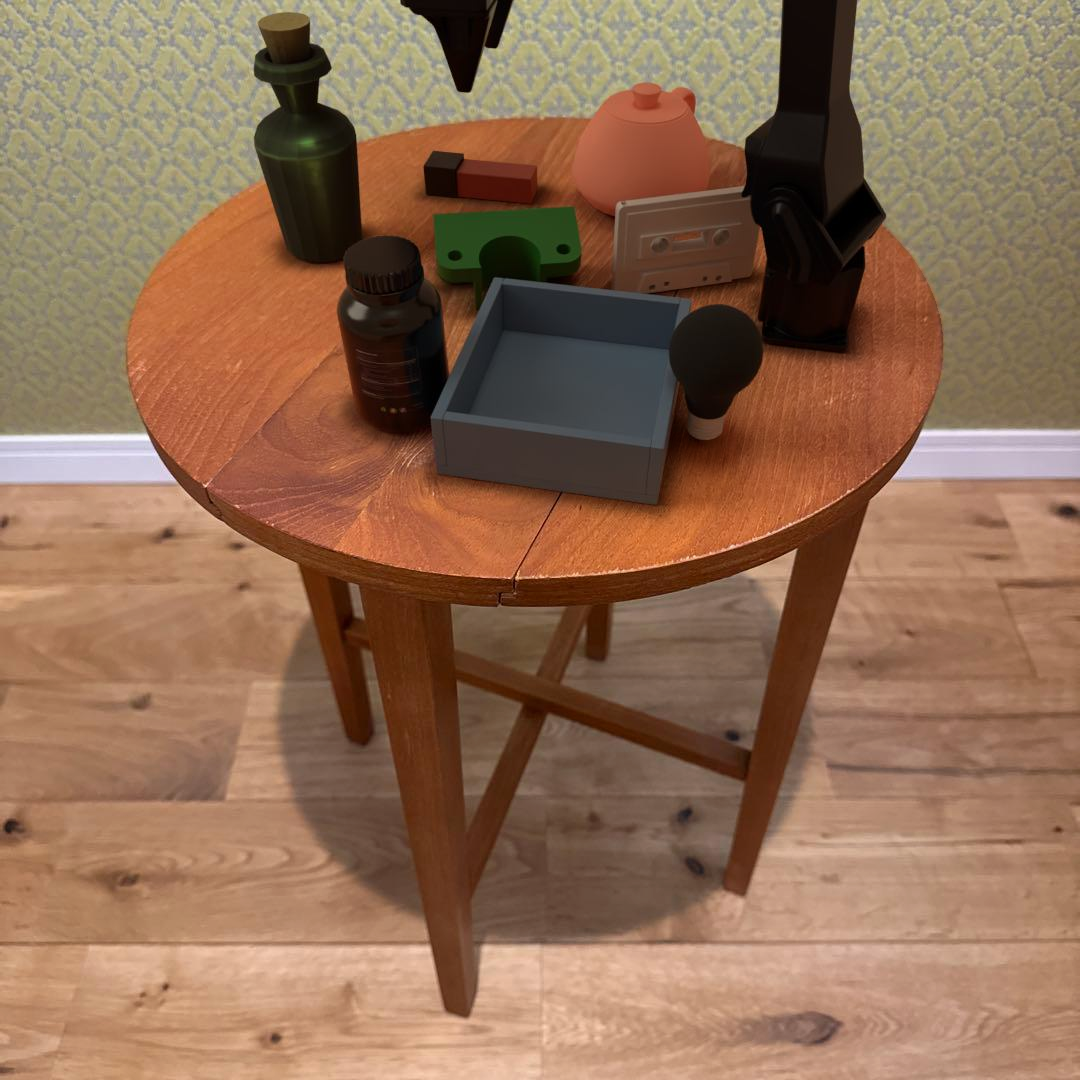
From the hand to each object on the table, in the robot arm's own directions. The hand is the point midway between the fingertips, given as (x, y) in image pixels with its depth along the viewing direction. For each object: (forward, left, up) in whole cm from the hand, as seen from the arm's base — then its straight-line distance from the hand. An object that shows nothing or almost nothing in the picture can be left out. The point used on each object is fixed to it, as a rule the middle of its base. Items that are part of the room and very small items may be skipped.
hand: (478, 68), depth 78 cm
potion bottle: (+12, +8, -13) cm, 20 cm away
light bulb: (-22, +27, -13) cm, 37 cm away
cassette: (-19, +8, -13) cm, 24 cm away
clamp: (-5, +12, -13) cm, 18 cm away
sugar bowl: (-14, -6, -13) cm, 20 cm away
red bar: (+1, -4, -13) cm, 13 cm away
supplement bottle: (-1, +28, -13) cm, 30 cm away
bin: (-13, +26, -13) cm, 31 cm away
